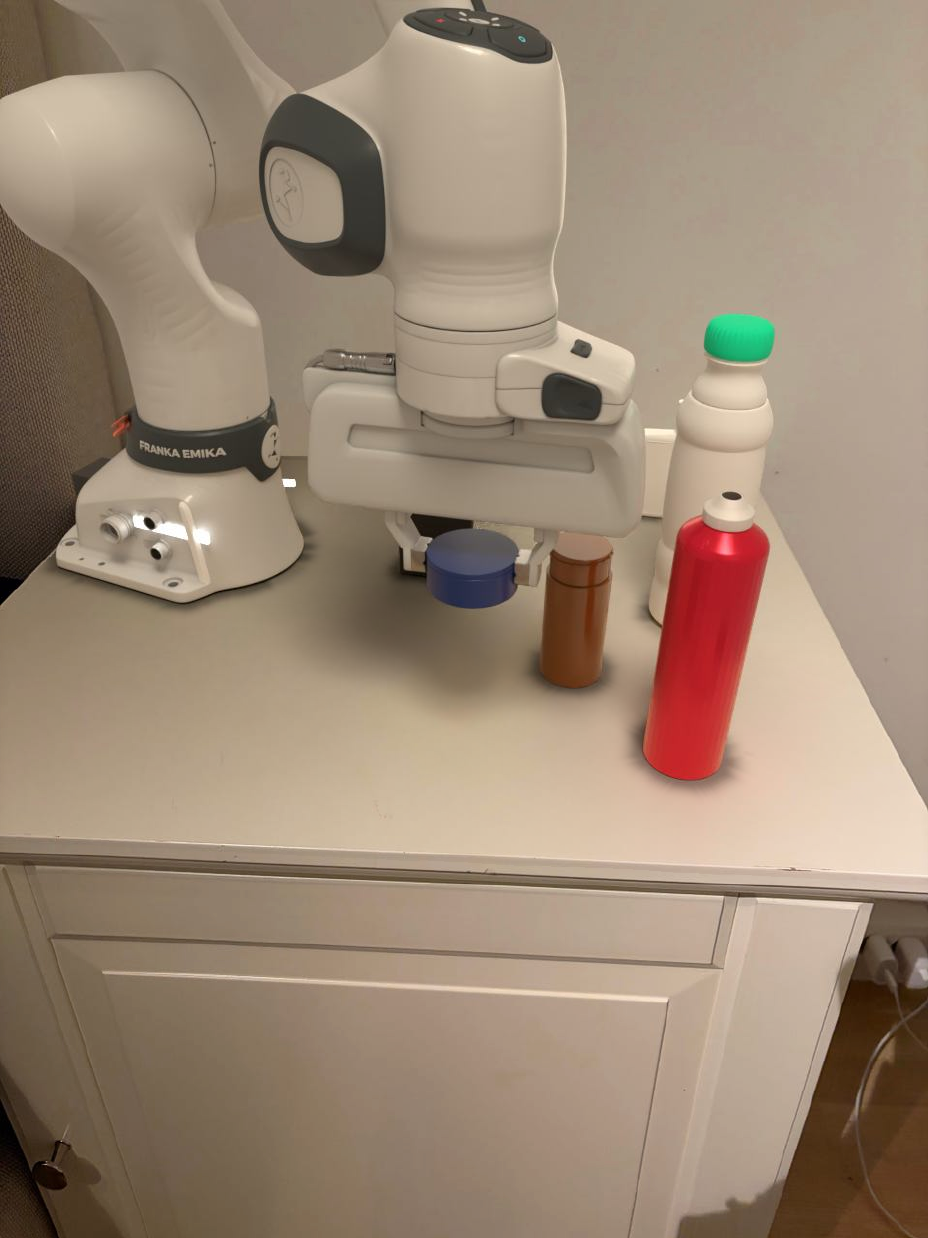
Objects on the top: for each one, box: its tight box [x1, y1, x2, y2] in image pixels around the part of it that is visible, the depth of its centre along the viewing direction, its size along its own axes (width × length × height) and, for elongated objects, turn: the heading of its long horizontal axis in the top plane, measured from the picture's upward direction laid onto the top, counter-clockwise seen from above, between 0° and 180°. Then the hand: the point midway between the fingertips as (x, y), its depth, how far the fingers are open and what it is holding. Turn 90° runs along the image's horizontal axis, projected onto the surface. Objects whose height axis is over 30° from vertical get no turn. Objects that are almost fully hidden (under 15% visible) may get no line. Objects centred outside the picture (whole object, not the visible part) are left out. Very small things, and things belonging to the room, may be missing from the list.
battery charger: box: [398, 513, 476, 577], centre depth 82 cm, size 7×4×11 cm, turn 80°
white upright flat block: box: [642, 398, 685, 519], centre depth 91 cm, size 8×2×12 cm, turn 79°
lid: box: [426, 528, 520, 610], centre depth 59 cm, size 6×6×2 cm
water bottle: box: [648, 313, 776, 626], centre depth 72 cm, size 7×7×25 cm
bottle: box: [642, 491, 771, 781], centre depth 59 cm, size 5×5×20 cm
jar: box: [539, 531, 615, 689], centre depth 70 cm, size 5×5×11 cm
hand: (473, 574), depth 59 cm, fingers closed on lid, 6 cm apart
